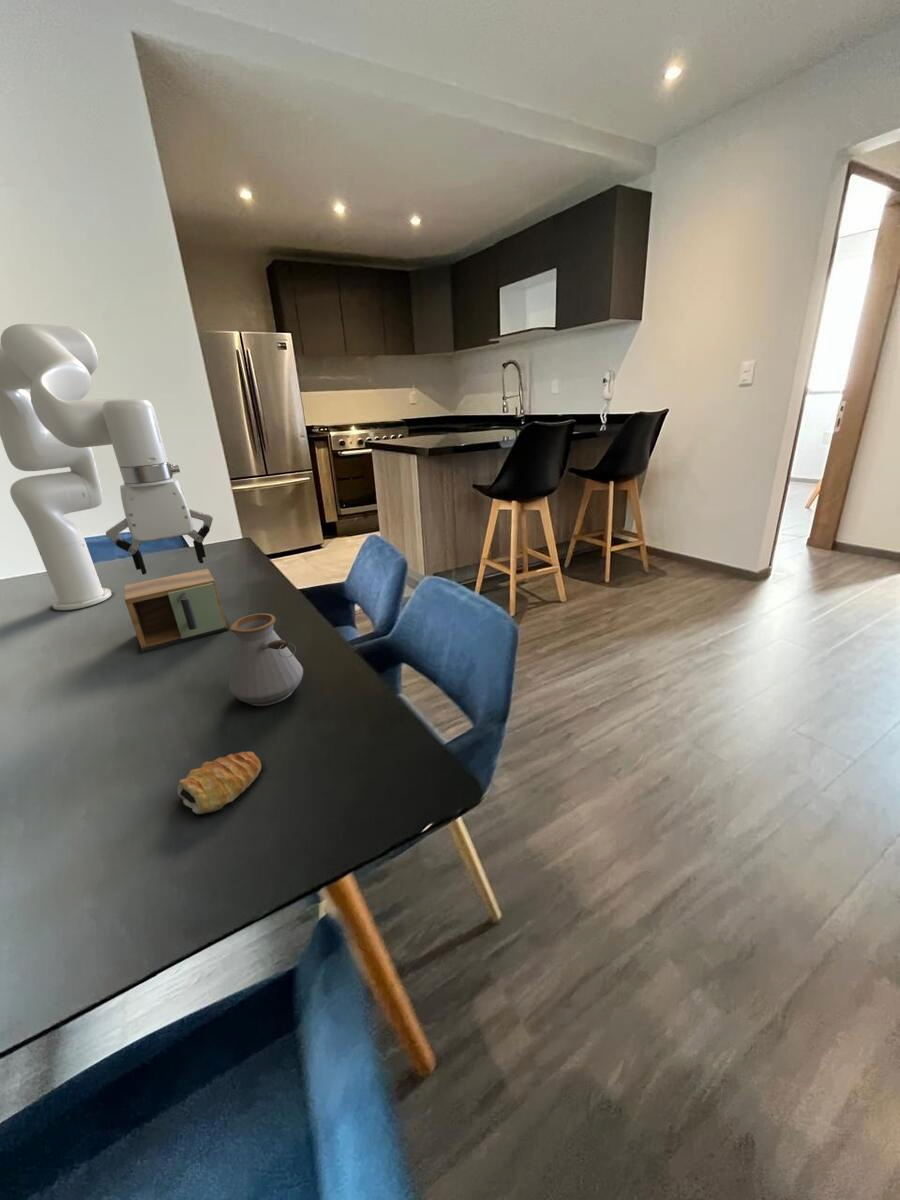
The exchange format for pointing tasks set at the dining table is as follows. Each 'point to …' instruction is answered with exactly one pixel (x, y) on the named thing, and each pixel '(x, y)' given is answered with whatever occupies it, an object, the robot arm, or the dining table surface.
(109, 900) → the dining table surface
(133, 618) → the cabinet
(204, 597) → the sliding door
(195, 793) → the pastry
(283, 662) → the coffee pot
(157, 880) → the dining table surface
